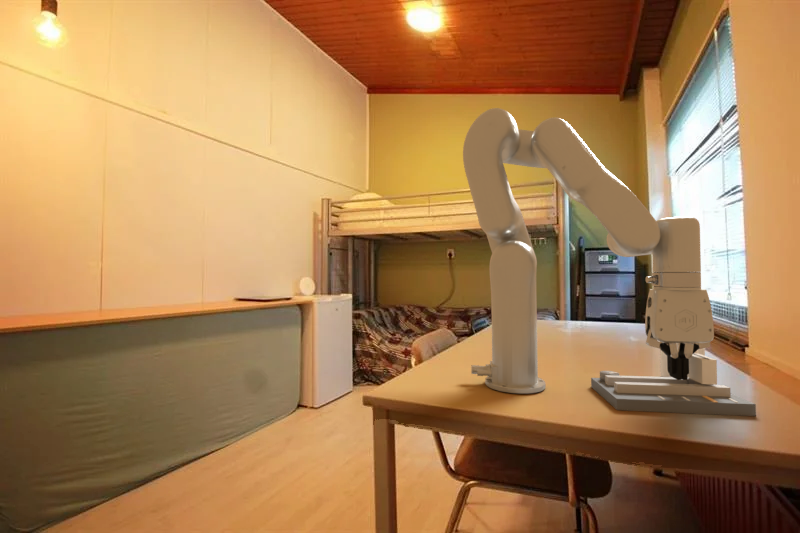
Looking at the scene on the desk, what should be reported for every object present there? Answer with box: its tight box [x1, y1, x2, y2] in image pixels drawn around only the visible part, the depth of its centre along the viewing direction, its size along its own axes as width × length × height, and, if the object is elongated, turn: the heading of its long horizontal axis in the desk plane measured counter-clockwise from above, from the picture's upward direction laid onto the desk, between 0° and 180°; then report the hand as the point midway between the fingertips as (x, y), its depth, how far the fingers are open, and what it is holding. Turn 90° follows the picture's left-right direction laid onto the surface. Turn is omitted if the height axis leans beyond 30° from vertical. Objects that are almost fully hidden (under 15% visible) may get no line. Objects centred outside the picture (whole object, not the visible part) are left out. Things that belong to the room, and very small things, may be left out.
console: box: [590, 370, 757, 417], centre depth 75 cm, size 22×14×4 cm, turn 81°
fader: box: [687, 353, 718, 385], centre depth 74 cm, size 3×6×6 cm, turn 171°
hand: (678, 377), depth 75 cm, fingers closed
